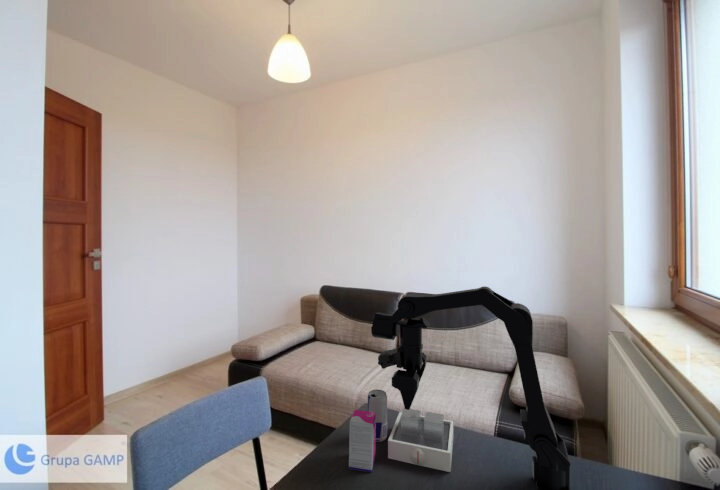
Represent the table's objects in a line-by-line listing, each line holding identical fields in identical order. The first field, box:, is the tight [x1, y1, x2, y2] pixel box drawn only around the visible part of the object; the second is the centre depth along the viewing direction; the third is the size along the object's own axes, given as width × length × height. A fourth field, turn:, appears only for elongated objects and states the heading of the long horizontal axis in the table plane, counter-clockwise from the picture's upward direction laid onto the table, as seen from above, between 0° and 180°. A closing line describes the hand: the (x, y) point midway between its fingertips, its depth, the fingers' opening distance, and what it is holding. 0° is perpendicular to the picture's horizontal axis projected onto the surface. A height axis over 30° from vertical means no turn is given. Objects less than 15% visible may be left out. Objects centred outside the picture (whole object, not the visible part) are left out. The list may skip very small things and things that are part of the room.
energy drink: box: [367, 389, 388, 443], centre depth 88 cm, size 5×5×12 cm
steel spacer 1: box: [401, 407, 422, 437], centre depth 85 cm, size 4×4×4 cm
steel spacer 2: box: [424, 411, 445, 442], centre depth 83 cm, size 4×4×4 cm
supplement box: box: [348, 409, 377, 473], centre depth 78 cm, size 6×6×12 cm
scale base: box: [387, 411, 454, 473], centre depth 84 cm, size 15×14×4 cm
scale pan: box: [394, 420, 449, 451], centre depth 84 cm, size 13×12×1 cm
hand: (410, 400), depth 85 cm, fingers open, 9 cm apart
